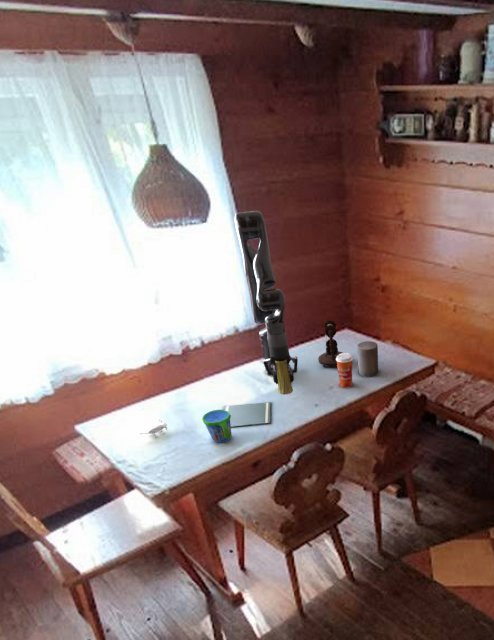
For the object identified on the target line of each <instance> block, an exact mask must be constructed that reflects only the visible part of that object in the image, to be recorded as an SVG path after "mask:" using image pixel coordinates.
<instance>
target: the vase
mask: <svg viewBox="0 0 494 640" xmlns="http://www.w3.org/2000/svg"><path fill="white" fill-rule="evenodd" d="M285 362H286V363H287V360H284V361H275V364H277V365H276V367H277V371H276V375H277V382H278V384H277V387H278V391H277V392H278V393H279V394H280V395H284V396H285V395H290V394H292V393H293V392H294V388H293V383H291V380H290V373H289V371H288V370H287V365H286V364H285Z"/></svg>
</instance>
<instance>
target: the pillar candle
mask: <svg viewBox="0 0 494 640" xmlns="http://www.w3.org/2000/svg"><path fill="white" fill-rule="evenodd" d="M356 347H357V363H358V374H359V375H360V376H362V377H366V378H368V377H373V376H377V375H379V372H380V371H379V350H378V349H379V348H378V343H376V342H375V341H371V340H366V341H361V342H358V344H357V345H356Z"/></svg>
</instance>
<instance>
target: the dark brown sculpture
mask: <svg viewBox="0 0 494 640" xmlns="http://www.w3.org/2000/svg"><path fill="white" fill-rule="evenodd" d="M323 326H324V334H325V338H324V339H325V340H324V341H325V352H323V353H321V354H320V355H318V357H317V359H318V363H319V364H321V365H322V367H323V368H325V367H326V366H327V367H337V361H336V357H337V356H338V355H339V354H341V353H344V352H343V351H339V348H338V342H337V340H336V339H334V337H335V336H336V334H337V325H336V322H335V321H334V320H332V319H329V320H325V322H324V325H323ZM327 338H328V339H327Z"/></svg>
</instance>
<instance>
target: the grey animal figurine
mask: <svg viewBox="0 0 494 640" xmlns="http://www.w3.org/2000/svg"><path fill="white" fill-rule="evenodd" d="M167 426H168V424H167V423H166V422H163V421H162V420H160V419H158V424H157V425H154V426H152V427H150V428H149V429H148V430H147V432H144V433H141V432H140V433H139V435H147V434H148V435H152V436H153V437H154V438H157V436H156V435H157V434H156V433H158V432H159V433H161V434H162V435H164V431H163V430H164V429H165V430H166V431H169V430H168V427H167Z"/></svg>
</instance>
